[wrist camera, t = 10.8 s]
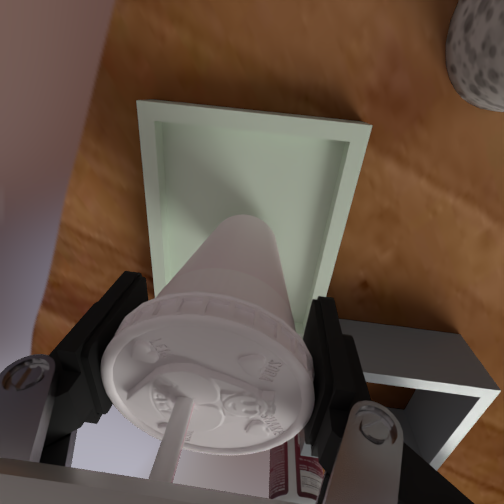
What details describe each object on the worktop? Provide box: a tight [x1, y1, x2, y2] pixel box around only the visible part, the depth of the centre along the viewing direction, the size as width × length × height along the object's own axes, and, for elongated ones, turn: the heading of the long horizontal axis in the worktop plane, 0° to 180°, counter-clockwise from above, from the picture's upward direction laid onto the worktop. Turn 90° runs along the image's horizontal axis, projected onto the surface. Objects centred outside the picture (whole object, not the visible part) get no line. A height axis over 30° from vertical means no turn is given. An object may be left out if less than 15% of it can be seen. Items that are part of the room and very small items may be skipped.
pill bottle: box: [269, 433, 323, 504], centre depth 25 cm, size 5×5×8 cm
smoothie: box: [100, 214, 315, 483], centre depth 11 cm, size 6×6×14 cm
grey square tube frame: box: [299, 319, 501, 471], centre depth 22 cm, size 10×10×4 cm
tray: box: [136, 99, 372, 339], centre depth 18 cm, size 14×11×2 cm
